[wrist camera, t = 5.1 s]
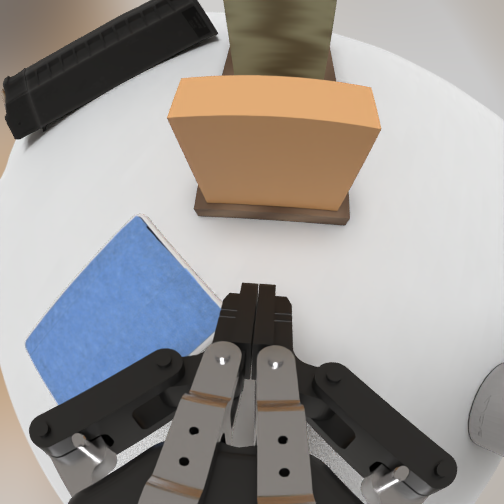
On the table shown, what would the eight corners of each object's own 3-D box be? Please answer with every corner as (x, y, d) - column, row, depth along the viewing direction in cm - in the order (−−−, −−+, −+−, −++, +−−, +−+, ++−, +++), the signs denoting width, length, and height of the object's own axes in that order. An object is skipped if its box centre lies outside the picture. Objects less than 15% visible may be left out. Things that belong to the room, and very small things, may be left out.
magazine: (219, -21, 22) (-17, 43, 12) (230, -17, 21) (-24, 53, 11) (203, 74, 38) (19, 135, 27) (211, 84, 37) (18, 149, 26)
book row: (325, 44, 29) (337, -39, 16) (345, 225, 22) (417, 116, 9) (235, 40, 30) (224, -44, 16) (198, 215, 23) (131, 101, 10)
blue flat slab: (144, 212, 24) (138, 206, 23) (239, 318, 21) (237, 318, 20) (28, 342, 21) (20, 342, 20) (94, 444, 19) (87, 448, 17)
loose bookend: (336, 176, 22) (371, 87, 12) (337, 211, 21) (381, 129, 11) (212, 169, 22) (181, 78, 13) (207, 202, 22) (167, 117, 12)
